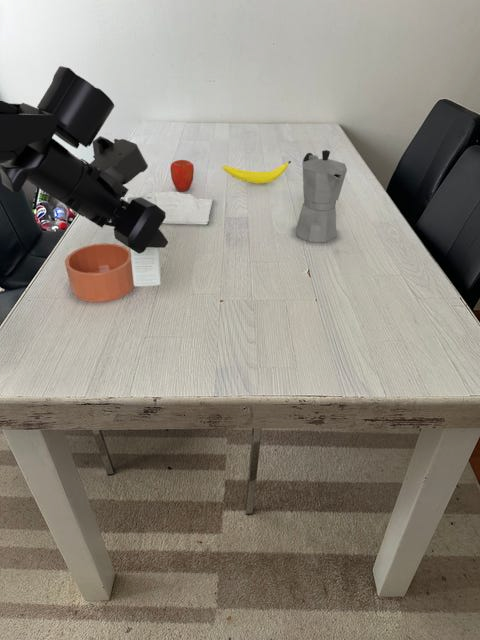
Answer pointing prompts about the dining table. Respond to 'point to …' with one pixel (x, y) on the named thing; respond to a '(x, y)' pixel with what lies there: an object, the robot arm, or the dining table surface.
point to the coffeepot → (320, 197)
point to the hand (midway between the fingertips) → (152, 236)
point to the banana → (256, 174)
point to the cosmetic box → (146, 261)
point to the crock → (100, 272)
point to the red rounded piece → (182, 174)
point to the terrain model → (181, 207)
